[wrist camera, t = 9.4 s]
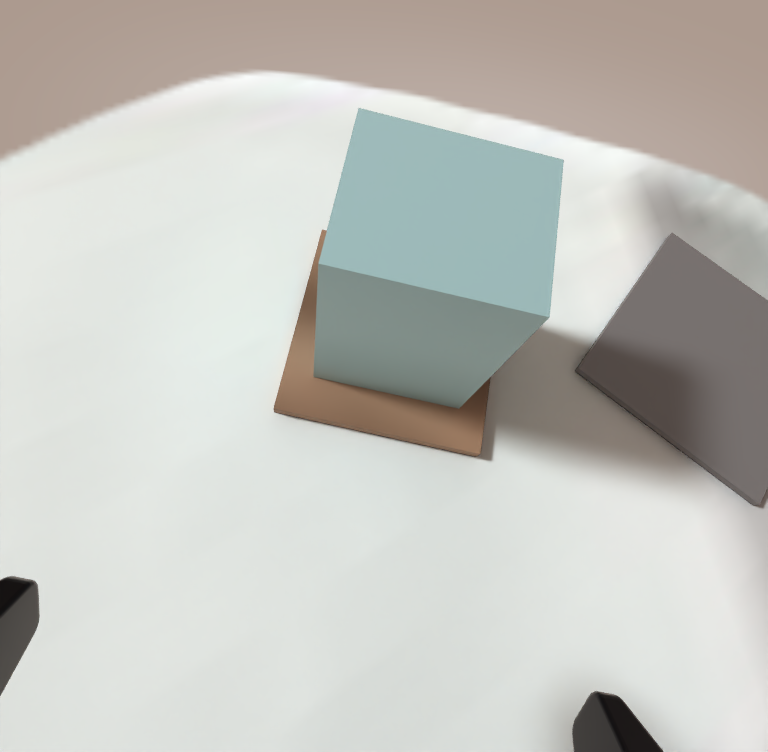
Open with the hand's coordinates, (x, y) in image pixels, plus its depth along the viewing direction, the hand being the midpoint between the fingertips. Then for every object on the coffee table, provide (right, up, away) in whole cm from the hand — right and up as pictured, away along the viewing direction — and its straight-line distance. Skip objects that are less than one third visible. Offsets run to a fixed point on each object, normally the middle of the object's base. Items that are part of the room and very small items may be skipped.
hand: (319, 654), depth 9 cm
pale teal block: (+2, +6, +16) cm, 17 cm away
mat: (+17, +5, +19) cm, 26 cm away
